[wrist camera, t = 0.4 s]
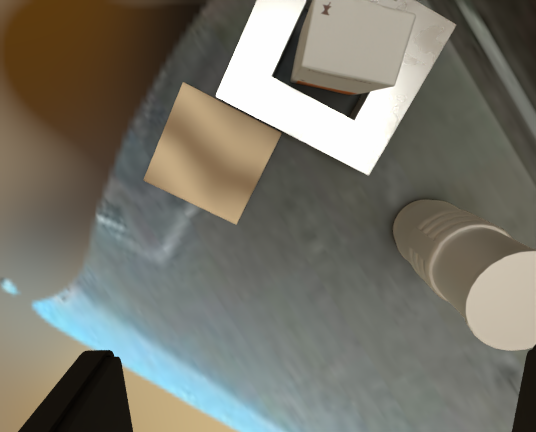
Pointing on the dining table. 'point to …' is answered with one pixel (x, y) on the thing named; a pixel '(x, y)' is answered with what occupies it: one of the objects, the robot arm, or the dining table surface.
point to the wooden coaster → (211, 154)
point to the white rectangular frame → (313, 112)
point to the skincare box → (351, 46)
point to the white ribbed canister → (473, 270)
